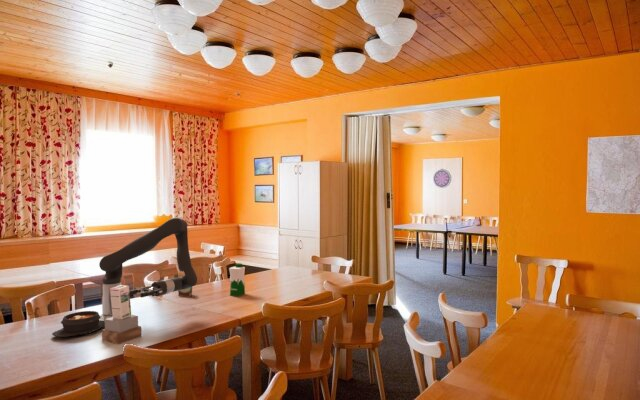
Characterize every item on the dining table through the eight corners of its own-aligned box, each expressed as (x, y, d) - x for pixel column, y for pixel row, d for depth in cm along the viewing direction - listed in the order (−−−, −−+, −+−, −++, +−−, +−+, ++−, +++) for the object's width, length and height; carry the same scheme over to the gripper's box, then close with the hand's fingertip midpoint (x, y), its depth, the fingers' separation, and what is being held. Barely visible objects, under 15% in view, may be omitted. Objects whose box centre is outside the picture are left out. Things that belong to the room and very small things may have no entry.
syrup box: (121, 319, 192) (119, 288, 191) (112, 318, 194) (109, 287, 193) (131, 315, 197) (129, 285, 196) (122, 314, 199) (119, 284, 198)
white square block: (104, 329, 194) (104, 319, 193) (123, 323, 202) (123, 313, 202) (119, 332, 189) (119, 321, 189) (138, 326, 198) (137, 315, 198)
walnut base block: (102, 340, 194) (101, 329, 194) (125, 332, 204) (125, 322, 204) (117, 345, 188) (117, 333, 188) (141, 337, 198) (141, 326, 198)
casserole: (66, 343, 190) (66, 325, 190) (43, 337, 199) (43, 319, 199) (116, 327, 212) (116, 311, 211) (94, 322, 221) (93, 306, 220)
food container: (197, 294, 278) (197, 279, 277) (191, 297, 272) (191, 281, 272) (183, 293, 283) (183, 278, 282) (176, 295, 277) (176, 280, 277)
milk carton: (246, 293, 279) (246, 263, 279) (239, 296, 271) (238, 265, 270) (235, 292, 283) (235, 262, 282) (227, 295, 274) (227, 265, 274)
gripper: (153, 278, 219) (125, 284, 205) (172, 281, 212) (144, 288, 198) (153, 293, 219) (125, 300, 205) (172, 296, 212) (144, 303, 198)
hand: (135, 294), depth 201 cm, fingers open, 8 cm apart
